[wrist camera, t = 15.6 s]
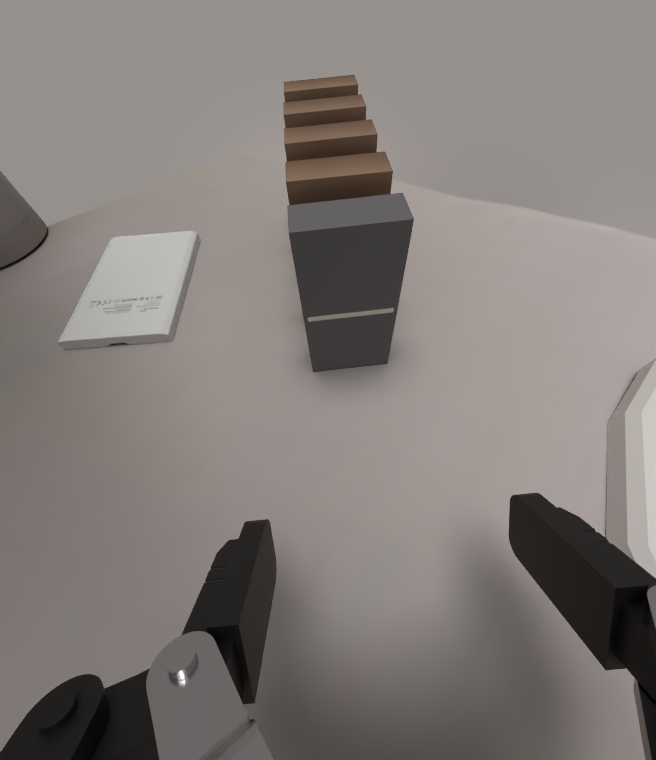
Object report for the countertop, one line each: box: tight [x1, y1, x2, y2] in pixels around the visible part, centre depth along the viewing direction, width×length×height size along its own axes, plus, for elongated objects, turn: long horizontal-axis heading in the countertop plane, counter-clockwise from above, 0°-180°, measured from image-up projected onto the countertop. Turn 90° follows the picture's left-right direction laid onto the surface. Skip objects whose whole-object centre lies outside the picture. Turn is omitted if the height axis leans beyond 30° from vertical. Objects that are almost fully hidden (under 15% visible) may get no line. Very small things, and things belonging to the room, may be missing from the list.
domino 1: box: [284, 75, 358, 102], centre depth 26 cm, size 2×5×10 cm, turn 95°
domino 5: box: [288, 193, 414, 372], centre depth 17 cm, size 2×5×10 cm, turn 95°
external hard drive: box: [57, 231, 200, 350], centre depth 26 cm, size 2×8×12 cm
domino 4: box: [286, 152, 393, 205], centre depth 19 cm, size 2×5×10 cm, turn 95°
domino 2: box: [284, 95, 366, 128], centre depth 24 cm, size 2×5×10 cm, turn 95°
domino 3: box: [284, 120, 377, 162], centre depth 21 cm, size 2×5×10 cm, turn 95°
